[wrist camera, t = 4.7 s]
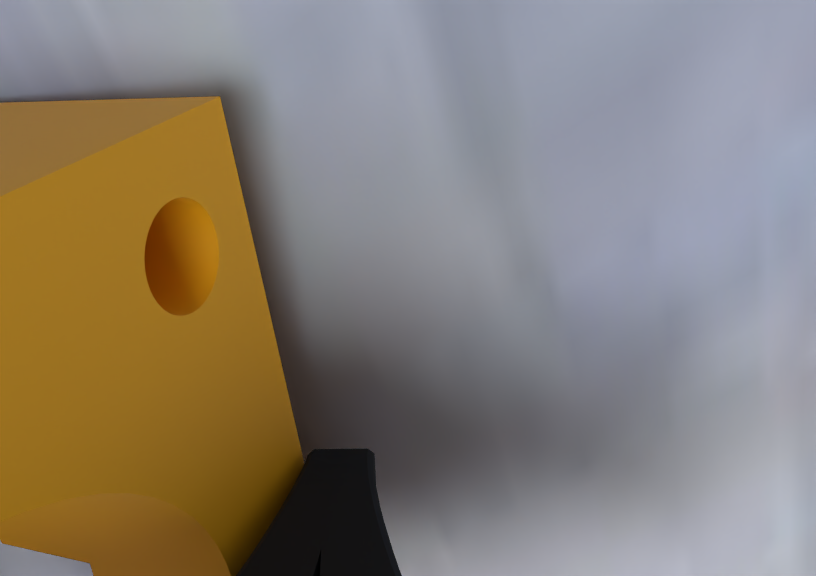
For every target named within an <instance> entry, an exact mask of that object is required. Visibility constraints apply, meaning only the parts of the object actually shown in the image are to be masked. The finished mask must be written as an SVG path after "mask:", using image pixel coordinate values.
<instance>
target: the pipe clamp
mask: <svg viewBox="0 0 816 576" xmlns="http://www.w3.org/2000/svg"><path fill="white" fill-rule="evenodd" d="M303 466H304V459H303V455H302V451H301V446H300V442H299V437H298V433H297V429H296V424H295V420H294V416H293V411H292V407H291V403H290V398H289V394H288V390H287V385H286V381H285V377H284V372H283V368H282V364H281V359H280V355H279V351H278V346H277V342H276V337H275V333H274V329H273V324H272V320H271V316H270V311H269V307H268V303H267V298H266V294H265V290H264V285H263V281H262V277H261V272H260V268H259V264H258V259H257V255H256V250H255V246H254V242H253V237H252V233H251V229H250V224H249V220H248V216H247V211H246V207H245V203H244V198H243V194H242V190H241V185H240V181H239V177H238V172H237V168H236V163H235V159H234V155H233V150H232V146H231V142H230V137H229V133H228V129H227V124H226V120H225V116H224V111H223V107H222V103H221V98H220V96H211V97H176V98H141V99H107V100H72V101H38V102H3V103H0V540H1V542H2V543H3V544H7V545H12V546H16V547H21V548H25V549H29V550H34V551H38V552H43V553H47V554H51V555H56V556H60V557H65V558H69V559H73V560H78V561H82V562H87V563H90V565H91V569H92V572H93V576H236V575H237V573H238V572H239V570H240V569H241V568H242V566H243V565H244V563H245V562H246V561H247V559H248V558H249V556H250V555H251V554H252V552H253V551H254V549H255V548H256V546H257V545H258V543H259V541H260V540H261V538H262V537H263V535H264V534H265V532H266V530H267V529H268V527H269V526H270V524H271V522H272V521H273V519H274V518H275V516H276V514H277V513H278V511H279V510H280V508H281V506H282V504H283V503H284V501H285V499H286V497H287V496H288V494H289V492H290V490H291V489H292V487H293V485H294V483H295V481H296V479H297V478H298V476H299V474H300V472H301V470H302V468H303Z"/></svg>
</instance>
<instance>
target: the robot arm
mask: <svg viewBox="0 0 816 576" xmlns="http://www.w3.org/2000/svg"><path fill="white" fill-rule="evenodd" d="M236 576H402V575H401V573H400V570H399V567H398V564H397V561H396V559H395V556H394V553H393V550H392V546H391V543H390V540H389V537H388V533H387V530H386V527H385V523H384V520H383V516H382V512H381V508H380V504H379V499H378V494H377V489H376V475H375V456H374V453H373V452H372V451H370V450H369V449H315V450H313V451H312V452H311V453H310V454H309V455H308V457H307V459H306V462H305V464H304V466H303V468H302V470H301V472H300V474H299V476H298V478H297V479H296V481H295V483H294V485H293V487H292V489H291V490H290V492H289V494H288V496H287V497H286V499H285V501H284V503H283V504H282V506H281V508H280V510H279V511H278V513H277V514H276V516H275V518H274V519H273V521H272V522H271V524H270V526H269V527H268V529H267V530H266V532H265V534H264V535H263V537H262V538H261V540H260V541H259V543H258V545H257V546H256V548H255V549H254V551H253V552H252V554H251V555H250V556H249V558H248V559H247V561H246V562H245V563H244V565H243V566H242V568H241V569H240V570H239V572H238V573H237V575H236Z"/></svg>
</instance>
